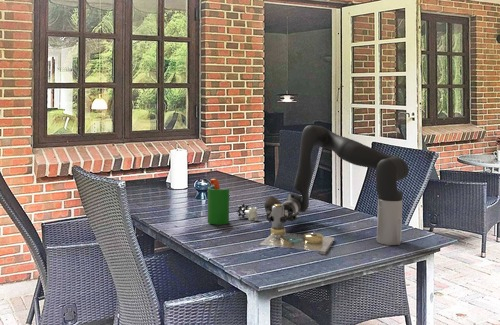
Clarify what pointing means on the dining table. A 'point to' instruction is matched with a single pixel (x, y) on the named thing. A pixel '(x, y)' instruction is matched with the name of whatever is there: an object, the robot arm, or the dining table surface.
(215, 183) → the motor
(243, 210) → the valve
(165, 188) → the dining table surface
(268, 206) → the stone
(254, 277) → the dining table surface
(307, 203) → the robot arm
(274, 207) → the silver and brass cylinder
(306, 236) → the carrier
